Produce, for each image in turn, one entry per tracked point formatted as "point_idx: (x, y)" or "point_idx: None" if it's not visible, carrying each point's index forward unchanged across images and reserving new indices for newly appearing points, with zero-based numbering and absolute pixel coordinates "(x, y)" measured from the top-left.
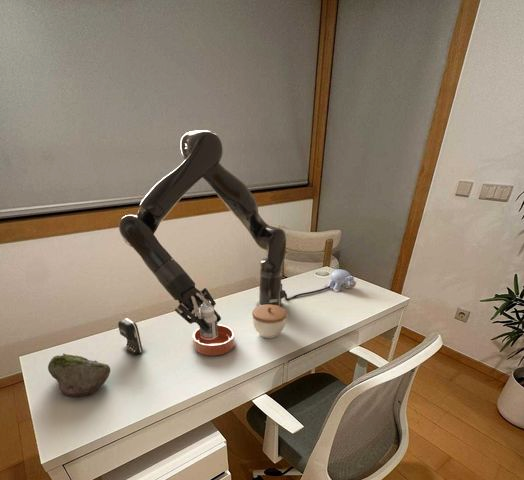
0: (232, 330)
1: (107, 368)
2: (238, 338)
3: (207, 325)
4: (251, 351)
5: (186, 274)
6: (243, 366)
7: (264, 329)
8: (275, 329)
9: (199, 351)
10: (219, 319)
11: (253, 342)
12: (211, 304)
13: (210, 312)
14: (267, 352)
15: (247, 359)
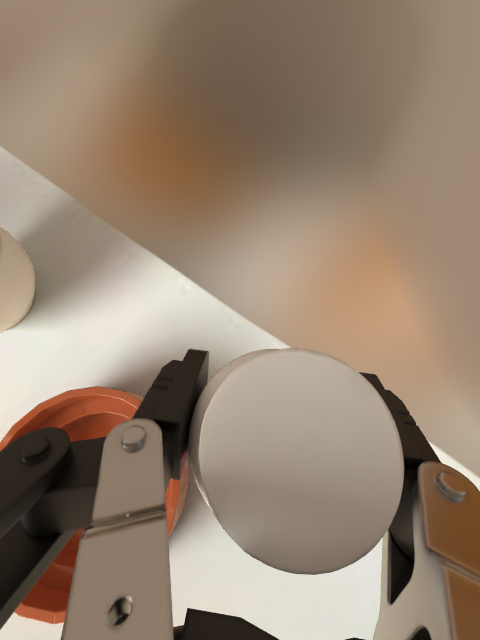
0: (31, 411)
1: None
2: (44, 397)
3: (382, 390)
4: (126, 324)
5: None
6: (215, 324)
7: (21, 280)
8: (18, 244)
9: (179, 517)
10: (208, 355)
11: (68, 334)
12: (71, 480)
13: (348, 368)
14: (123, 277)
15: (175, 323)
